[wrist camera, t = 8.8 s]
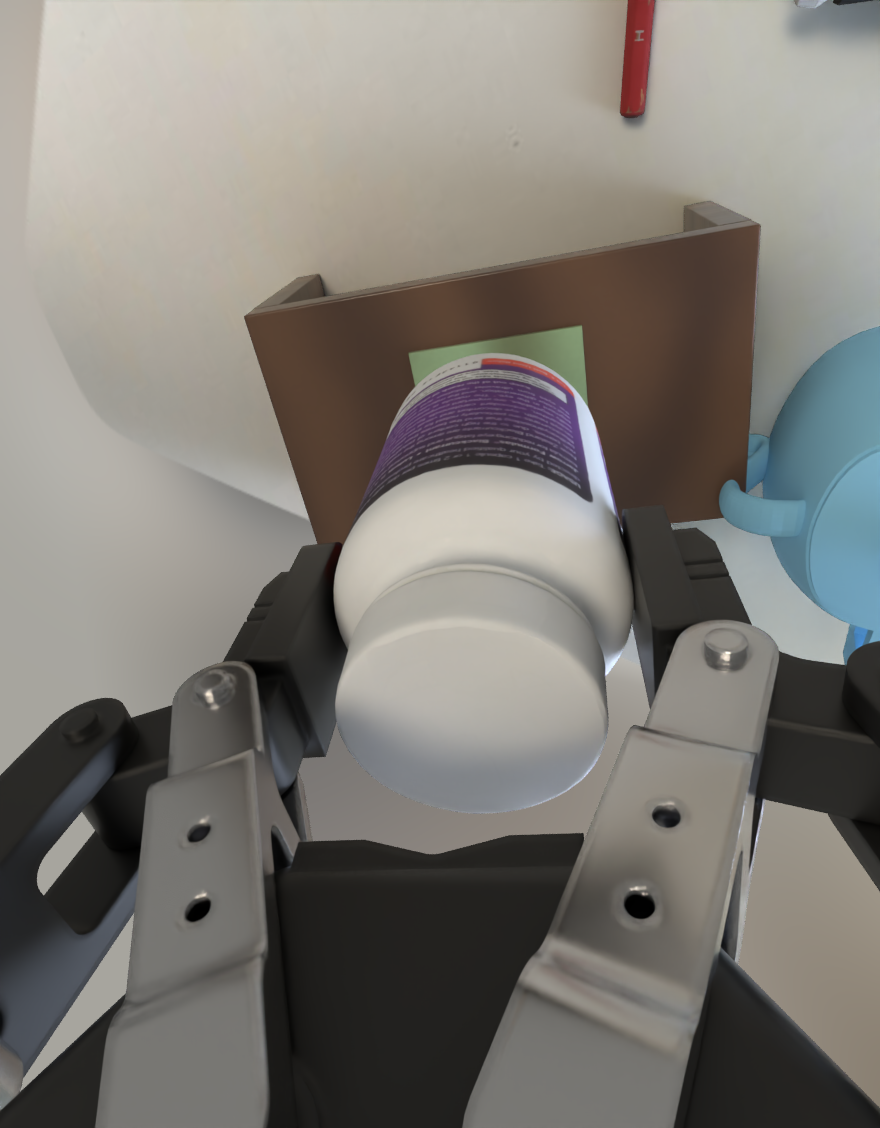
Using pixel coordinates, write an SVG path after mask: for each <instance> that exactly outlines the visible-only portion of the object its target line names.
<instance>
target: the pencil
mask: <svg viewBox="0 0 880 1128" xmlns="http://www.w3.org/2000/svg"><path fill="white" fill-rule="evenodd" d="M654 2H655V0H628V9H627V23H626V36H625V50H624V64H623V78H622V91H621V105H620V114H621V115H622V116H624V117H626V118H635V117H638V116H640V115H642V114H643V113H644V111H645V100H646V89H647V79H648V68H649V57H650V46H651V35H652V24H653V13H654Z"/></svg>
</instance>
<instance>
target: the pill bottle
mask: <svg viewBox="0 0 880 1128" xmlns="http://www.w3.org/2000/svg"><path fill="white" fill-rule="evenodd" d="M333 592H334V598H333V600H334V609H335V615H336V620H337V624H338V628H339V631H340V634H341V636H342V639H343V641H344V643H345V645H346V647H347V649H348V653H347V656H346V660H345V663H344V667H343V670H342V674H341V677H340V680H339V683H338V687H337V693H336V700H335V714H336V721H337V725H338V730H339V733H340V735H341V738H342V739H343V741H344V743H345V745H346V747H347V748H348V750H349V752H350V753H351V754H352V756H353V757H354V758H355V759H356V760H357V762H358V763H359V765H360V766H361V767H362V768H363V769H364V770H365V771H366V772H367V773H368V774H370V775H371V776H372V777H373V778H375V779H376V780H377V781H379V782H380V783H381V784H383V785H384V786H385V787H387V788H389V789H391V790H393V791H394V792H396V793H398V794H400V795H402V796H404V797H406V798H409V799H412V800H414V801H416V802H419V803H422V804H425V805H429V806H432V807H436V808H440V809H445V810H450V811H455V812H463V813H473V814H480V813H481V814H483V813H500V812H509V811H515V810H519V809H524V808H527V807H531V806H534V805H538V804H540V803H543V802H545V801H548V800H550V799H552V798H554V797H557V796H559V795H560V794H562V793H564V792H566V791H568V790H569V789H570V788H572V787H573V786H574V785H576V784H577V783H578V782H580V781H581V780H582V779H583V778H584V776H586V775H587V773H589V771H590V770H591V769H592V768H593V766H594V765H595V763H596V762H597V760H598V758H599V756H600V754H601V752H602V750H603V747H604V744H605V741H606V737H607V731H608V708H607V696H606V681H605V676H606V675H607V674H608V673H609V672H610V670H611V669H612V667H613V666H614V664H615V663H616V662H617V660H618V659H619V657H620V655H621V653H622V651H623V649H624V647H625V644H626V642H627V639H628V637H629V633H630V629H631V624H632V618H633V609H634V591H633V583H632V577H631V571H630V565H629V558H628V553H627V549H626V546H625V541H624V537H623V534H622V528H621V525H620V522H619V517H618V513H617V508H616V504H615V500H614V496H613V492H612V489H611V484H610V480H609V476H608V472H607V468H606V464H605V459H604V455H603V451H602V447H601V442H600V438H599V435H598V431H597V428H596V426H595V423H594V420H593V418H592V415H591V413H590V411H589V409H588V407H587V405H586V404H585V402H584V400H583V399H582V397H581V396H580V395H579V393H578V392H577V391H576V390H575V389H574V388H573V387H572V386H571V385H570V384H569V383H568V382H567V381H566V380H565V379H564V378H563V377H561V376H560V375H559V374H557V373H556V372H555V371H553V370H551V369H550V368H548V367H546V366H544V365H542V364H540V363H538V362H536V361H533V360H530V359H528V358H524V357H520V356H517V355H511V354H502V353H485V354H477V355H471V356H467V357H464V358H460V359H457V360H455V361H452V362H450V363H448V364H446V365H443V366H442V367H440V368H438V369H436V370H435V371H433V372H432V373H431V374H429V375H428V376H427V377H425V378H424V379H423V380H422V381H421V382H419V383H418V384H417V386H416V387H415V388H414V389H413V390H412V391H411V392H410V394H409V395H408V396H407V398H406V399H405V401H404V402H403V404H402V406H401V407H400V409H399V411H398V413H397V415H396V417H395V419H394V421H393V423H392V425H391V428H390V431H389V434H388V436H387V439H386V441H385V444H384V446H383V449H382V452H381V455H380V457H379V460H378V462H377V465H376V467H375V470H374V472H373V475H372V477H371V480H370V482H369V485H368V487H367V489H366V492H365V494H364V497H363V499H362V502H361V504H360V507H359V509H358V511H357V514H356V516H355V519H354V521H353V523H352V526H351V528H350V530H349V533H348V535H347V538H346V540H345V543H344V545H343V548H342V551H341V554H340V557H339V560H338V564H337V568H336V573H335V579H334V590H333Z"/></svg>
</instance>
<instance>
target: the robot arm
mask: <svg viewBox="0 0 880 1128" xmlns="http://www.w3.org/2000/svg"><path fill="white" fill-rule="evenodd" d="M622 527H623V537H624V541H625V546H626V549H627V553H628V558H629V565H630V571H631V577H632V583H633V591H634V609H633V618H632V625H633V630H634V635H635V640H636V644H637V649H638V654H639V659H640V663H641V668H642V673H643V677H644V682H645V687H646V692H647V697H648V702H649V706H650V712H649V714H648V717H647V720H646V723H645V725H644V727H641V726H637V725H633V726H632V727H631V728H630V729H629V731H628V733H627V735H626V737H625V739H624V742H623V744H622V747H621V749H620V752H619V754H618V757H617V759H616V762H615V764H614V767H613V769H612V772H611V774H610V777H609V780H608V782H607V784H606V787H605V790H604V792H603V795H602V797H601V800H600V802H599V805H598V807H597V810H596V812H595V815H594V817H593V820H592V822H591V825H590V827H589V830H588V832H587V835H586V838H585V840H584V834H583V833H575V834H574V833H573V834H540V835H509V836H505V837H501V838H497V839H494V840H490V841H486V842H482V843H478V844H475V845H471V846H467V847H463V848H460V849H456V850H452V851H448V852H444V853H441V854H424V853H420V852H416V851H411V850H406V849H402V848H398V847H394V846H389V845H384V844H380V843H376V842H372V841H367V840H341V841H313V840H312V834H311V827H310V821H309V815H308V808H307V803H306V796H305V790H304V784H303V781H302V779H301V777H300V774H299V772H298V770H299V767H300V764H301V761H302V759H303V758H310V757H326V753H327V751H328V747H329V744H330V741H331V738H332V735H333V731H334V728H335V725H336V722H337V721H336V714H335V700H336V693H337V687H338V683H339V680H340V677H341V674H342V670H343V667H344V663H345V660H346V656H347V653H348V649H347V647H346V645H345V643H344V641H343V639H342V636H341V634H340V631H339V628H338V624H337V620H336V615H335V609H334V600H333V598H334V592H333V590H334V579H335V573H336V568H337V564H338V560H339V557H340V554H341V551H342V548H343V545H342V544H341V543H340V542H332V543H324V544H316V545H307V546H303V547H302V548H301V549H300V551H299V553H298V555H297V557H296V559H295V561H294V563H293V565H292V567H291V569H290V571H289V572H281V573H280V574H279V575H278V576H277V577H275V578H274V579H273V580H272V581H271V582H270V583H269V584H267V585H266V586H265V587H264V588H263V590H262V592H261V594H260V595H259V597H258V599H257V601H256V602H255V604H254V606H255V608H252V610H251V612H250V614H249V615H248V617H247V622H244V624H243V626H242V628H241V630H240V632H239V633H238V635H237V637H236V639H235V641H234V643H233V644H232V646H231V648H230V650H229V652H228V654H227V655H226V657H225V659H224V661H223V662H221V663H217V664H214V665H212V666H209V667H206V668H204V669H202V670H200V671H199V672H197V673H195V674H194V675H192V676H191V677H190V678H188V679H187V680H186V681H185V682H184V683H183V684H182V685H181V687H180V688H179V689H178V690H177V692H176V694H175V696H174V698H173V705H171V706H168V707H165V708H162V709H159V710H156V711H152V712H149V713H146V714H142V715H139V716H136V717H133V718H131V717H130V715H129V713H128V711H127V710H126V708H125V706H124V705H123V703H122V702H120V701H119V700H117V699H113V698H101V699H96V700H92V701H89V702H86V703H83V704H81V705H79V706H76V707H74V708H73V709H71V710H69V711H67V712H66V713H64V714H63V715H61V716H60V717H59V718H58V719H56V720H55V721H54V722H53V723H52V724H51V725H50V726H49V727H48V728H47V729H46V730H45V731H44V732H43V733H42V734H41V735H40V736H39V737H38V738H37V739H36V740H35V741H34V742H33V743H32V744H31V745H30V746H29V747H28V748H27V749H26V750H25V751H24V752H23V753H22V754H21V755H20V756H19V757H18V758H17V759H16V760H15V761H14V762H13V763H12V764H11V765H10V766H9V767H8V768H7V769H6V770H5V771H4V772H3V773H2V774H1V775H0V1128H880V1108H879V1107H878V1106H877V1105H876V1104H875V1103H874V1102H873V1101H872V1100H871V1099H870V1098H869V1097H868V1096H867V1095H866V1094H865V1093H864V1092H863V1091H862V1090H861V1089H860V1088H859V1087H858V1086H857V1085H856V1084H855V1083H854V1082H853V1081H852V1080H851V1079H850V1078H849V1077H848V1075H847V1074H845V1073H844V1072H843V1070H841V1069H840V1067H839V1066H838V1065H836V1063H835V1062H833V1060H832V1059H831V1058H830V1057H829V1056H828V1055H827V1054H826V1053H825V1052H824V1051H823V1050H822V1049H821V1048H820V1047H819V1046H818V1045H817V1044H816V1043H815V1042H814V1041H813V1040H812V1039H811V1038H810V1037H809V1036H808V1035H807V1034H806V1033H805V1032H804V1031H803V1030H802V1029H801V1028H800V1027H799V1026H798V1025H797V1024H796V1023H795V1022H794V1021H793V1020H792V1019H791V1018H790V1017H789V1016H788V1015H787V1014H786V1013H785V1012H784V1011H783V1010H782V1009H781V1008H780V1007H779V1006H778V1005H777V1004H776V1003H775V1002H774V1001H773V1000H772V999H771V998H770V997H769V996H768V995H767V994H766V993H765V992H764V991H763V990H762V989H761V988H760V987H759V986H758V985H757V984H756V983H755V982H754V981H753V980H752V979H751V977H749V975H747V974H746V972H745V971H744V970H743V969H742V968H741V967H740V966H739V965H738V962H739V956H740V950H741V944H742V937H743V930H744V923H745V916H746V908H747V900H748V894H749V887H750V882H751V876H752V871H753V865H754V860H755V854H756V849H757V844H758V838H759V832H760V827H761V822H762V816H763V810H764V805H765V800H770V801H774V802H779V803H783V804H788V805H792V806H797V807H801V808H805V809H810V810H814V811H819V812H824V813H828V815H829V817H830V819H831V821H832V822H833V824H834V825H835V827H836V828H837V830H838V831H839V832H840V834H841V836H842V837H843V838H844V840H845V841H846V843H847V844H848V846H849V847H850V849H851V850H852V852H853V853H854V854H855V856H856V857H857V859H858V860H859V862H860V863H861V865H862V866H863V867H864V869H865V870H866V872H867V873H868V875H869V876H870V878H871V879H872V881H873V882H874V884H875V885H876V886H877V888H878V889H879V891H880V641H876V642H872V643H868V644H865V645H863V646H861V647H859V648H857V649H856V650H855V651H853V653H852V654H851V655H850V656H849V658H848V660H847V665H839V664H832V663H824V662H817V661H811V660H805V659H800V658H797V657H793V656H790V655H788V654H785V653H782V652H780V651H779V650H778V647H777V645H776V643H775V641H774V640H773V639H772V638H771V637H770V636H769V635H768V634H767V633H765V632H764V631H762V630H760V629H759V628H757V627H754V626H752V624H751V622H750V620H749V617H748V615H747V613H746V611H745V608H744V606H743V604H742V602H741V599H740V597H739V595H738V593H737V590H736V588H735V586H734V584H733V581H732V579H731V577H730V576H729V572H728V570H727V568H726V565H725V563H724V562H723V560H722V556H721V554H720V552H719V550H718V547H717V545H716V543H715V541H714V540H712V539H711V538H710V537H708V536H707V535H705V534H704V533H703V532H701V531H700V530H699V529H697V528H689V529H679V530H672V528H671V525H670V522H669V519H668V516H667V513H666V511H665V508H664V506H663V505H656V506H647V507H638V508H630V509H623V510H622ZM81 812H83V814H84V815H85V816H86V818H87V819H88V821H89V822H90V824H91V825H92V826H93V828H94V829H95V832H94V833H93V834H92V836H91V837H90V838H89V839H88V841H87V842H86V843H85V845H84V846H83V847H82V848H81V850H80V851H79V852H78V853H77V855H76V856H75V857H74V858H73V860H72V861H71V862H70V863H69V865H68V866H67V867H66V868H65V870H64V871H63V872H62V874H61V875H60V876H59V877H58V878H57V880H56V881H55V882H54V884H53V885H52V886H51V887H50V889H49V890H48V891H47V892H46V894H45V895H43V894H42V893H41V892H40V890H39V889H38V886H37V873H38V869H39V866H40V864H41V862H42V860H43V858H44V857H45V855H46V854H47V853H48V851H49V850H50V849H51V848H52V847H53V845H54V844H55V843H56V842H57V841H58V839H59V838H60V837H61V836H62V835H63V833H64V832H65V831H66V830H67V829H68V827H69V826H70V825H71V824H72V823H73V821H74V820H75V819H76V818H77V817H78V815H79V814H80V813H81ZM133 913H134V921H133V931H132V941H131V952H130V961H129V970H128V980H127V990H126V994H125V995H124V996H122V997H121V998H120V999H119V1000H118V1001H117V1002H116V1003H115V1004H114V1005H113V1006H112V1007H111V1008H110V1009H109V1010H108V1011H106V1012H105V1013H104V1014H103V1015H102V1016H101V1017H100V1018H99V1019H98V1020H97V1021H96V1022H95V1023H94V1024H93V1025H91V1026H90V1027H89V1028H88V1029H87V1030H86V1031H85V1032H84V1033H83V1034H82V1035H81V1036H80V1037H79V1038H78V1039H77V1040H75V1041H74V1043H72V1044H71V1045H70V1046H69V1047H68V1048H67V1049H66V1050H65V1051H64V1052H63V1053H61V1054H60V1055H59V1056H58V1057H57V1058H56V1059H55V1060H54V1061H53V1062H52V1063H51V1064H50V1065H49V1066H48V1067H46V1068H45V1069H44V1070H43V1071H42V1072H41V1073H40V1074H39V1075H38V1076H37V1077H36V1078H35V1079H34V1080H33V1081H32V1082H31V1083H29V1084H28V1085H27V1086H26V1087H25V1088H24V1089H23V1090H22V1091H21V1092H20V1090H21V1086H22V1081H23V1078H24V1076H25V1075H26V1073H27V1072H28V1070H29V1069H30V1067H31V1066H32V1064H33V1063H34V1061H35V1060H36V1058H37V1057H38V1055H39V1054H40V1052H41V1051H42V1049H43V1048H44V1046H45V1045H46V1043H47V1042H48V1040H49V1039H50V1037H51V1036H52V1034H53V1033H54V1031H55V1030H56V1028H57V1027H58V1025H59V1024H60V1022H61V1021H62V1019H63V1018H64V1016H65V1015H66V1013H67V1012H68V1011H69V1009H70V1007H71V1006H72V1005H73V1003H74V1002H75V1000H76V999H77V997H78V996H79V994H80V992H81V991H82V990H83V988H84V986H85V985H86V983H87V982H88V981H89V979H90V977H91V976H92V975H93V973H94V972H95V970H96V969H97V967H98V966H99V964H100V962H101V961H102V960H103V958H104V957H105V955H106V954H107V952H108V951H109V949H110V948H111V946H112V945H113V943H114V942H115V940H116V939H117V937H118V936H119V934H120V933H121V931H122V930H123V928H124V927H125V925H126V923H127V922H128V921H129V919H130V918H131V916H132V915H133Z"/></svg>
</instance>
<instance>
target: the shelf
mask: <svg viewBox="0 0 880 1128" xmlns="http://www.w3.org/2000/svg"><path fill="white" fill-rule="evenodd" d="M760 231H761V226H760V224H758V223H756V222H754V221H752V220H751V219H749V218H746V217H744V216H742V215H740V214H738V213H736V212H733V211H731V210H729V209H727V208H725V207H723V206H721V205H718V204H716V203H714V202H712V201H707V202H701V203H696V204H691V205H685V206H684V232H683V233H677V234H671V235H666V236H660V237H655V238H649V239H644V240H638V241H632V242H627V243H621V244H616V245H610V246H604V247H599V248H593V249H588V250H582V251H577V252H571V253H565V254H560V255H554V256H549V257H543V258H538V259H532V260H526V261H521V262H515V263H510V264H504V265H499V266H493V267H487V268H482V269H476V270H471V271H465V272H460V273H454V274H448V275H443V276H437V277H432V278H426V279H421V280H415V281H409V282H404V283H398V284H393V285H387V286H381V287H376V288H370V289H365V290H359V291H354V292H348V293H342V294H337V295H331V296H326V297H325V295H324V292H323V288H322V284H321V280H320V276H319V274H315V275H309V276H304V277H299V278H296V279H295V280H294V281H292V282H291V283H289V284H288V285H287V286H285V287H284V288H282V289H281V290H280V291H278V292H277V293H275V294H274V295H273V296H271V297H270V298H268V299H267V300H266V301H264V302H263V303H261V304H260V305H259V306H257V307H256V308H254V309H253V310H252V311H251V312H249V313H248V314H247V315H245V316H244V318H245V322H246V325H247V328H248V331H249V334H250V337H251V340H252V343H253V346H254V349H255V352H256V355H257V359H258V362H259V365H260V368H261V371H262V374H263V377H264V380H265V383H266V386H267V389H268V392H269V396H270V399H271V402H272V405H273V408H274V411H275V414H276V417H277V420H278V423H279V426H280V429H281V433H282V436H283V439H284V442H285V445H286V448H287V451H288V454H289V457H290V460H291V463H292V467H293V470H294V473H295V476H296V479H297V482H298V485H299V488H300V491H301V494H302V497H303V500H304V504H305V507H306V510H307V513H308V516H309V519H310V522H311V525H312V528H313V531H314V534H315V537H316V541H317V544H324V543H332V542H340V543H341V544H342V545H344V543H345V540H346V538H347V535H348V533H349V530H350V528H351V526H352V523H353V521H354V519H355V516H356V514H357V511H358V509H359V507H360V504H361V502H362V499H363V497H364V494H365V492H366V489H367V487H368V485H369V482H370V480H371V477H372V475H373V472H374V470H375V467H376V465H377V462H378V460H379V457H380V455H381V452H382V449H383V446H384V444H385V441H386V439H387V436H388V434H389V431H390V428H391V425H392V423H393V421H394V419H395V417H396V415H397V413H398V411H399V409H400V407H401V406H402V404H403V402H404V401H405V399H406V398H407V396H408V395H409V394H410V392H411V391H412V390H413V389H414V388H415V387H416V386H417V384H418V383H419V382H421V381H422V380H423V379H424V378H425V377H427V376H428V375H429V374H431V373H432V372H433V371H435V370H436V369H438V368H440V367H442V366H443V365H446V364H448V363H450V362H452V361H455V360H457V359H460V358H464V357H467V356H471V355H477V354H485V353H502V354H511V355H517V356H520V357H524V358H528V359H530V360H533V361H536V362H538V363H540V364H542V365H544V366H546V367H548V368H550V369H551V370H553V371H555V372H556V373H557V374H559V375H560V376H561V377H563V378H564V379H565V380H566V381H567V382H568V383H569V384H570V385H571V386H572V387H573V388H574V389H575V390H576V391H577V392H578V393H579V395H580V396H581V397H582V399H583V400H584V402H585V404H586V405H587V407H588V409H589V411H590V413H591V415H592V418H593V420H594V423H595V426H596V428H597V431H598V435H599V438H600V442H601V447H602V451H603V455H604V459H605V464H606V468H607V472H608V476H609V480H610V484H611V489H612V492H613V496H614V500H615V504H616V508H617V513H618V517H619V522H620V525H621V528H623V527H622V510H623V509H630V508H638V507H647V506H656V505H663V506H664V508H665V511H666V513H667V516H668V519H669V522H670V523H680V522H689V521H699V520H708V519H718V518H724V516H723V515H722V513H721V510H720V506H719V495H720V491H721V489H722V487H723V485H724V484H725V483H726V482H727V481H729V480H734V481H736V482H737V483H738V485H739V488H740V491H742V492H744V493H746V481H747V463H748V445H749V427H750V410H751V392H752V374H753V356H754V338H755V320H756V303H757V285H758V267H759V249H760Z"/></svg>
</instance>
